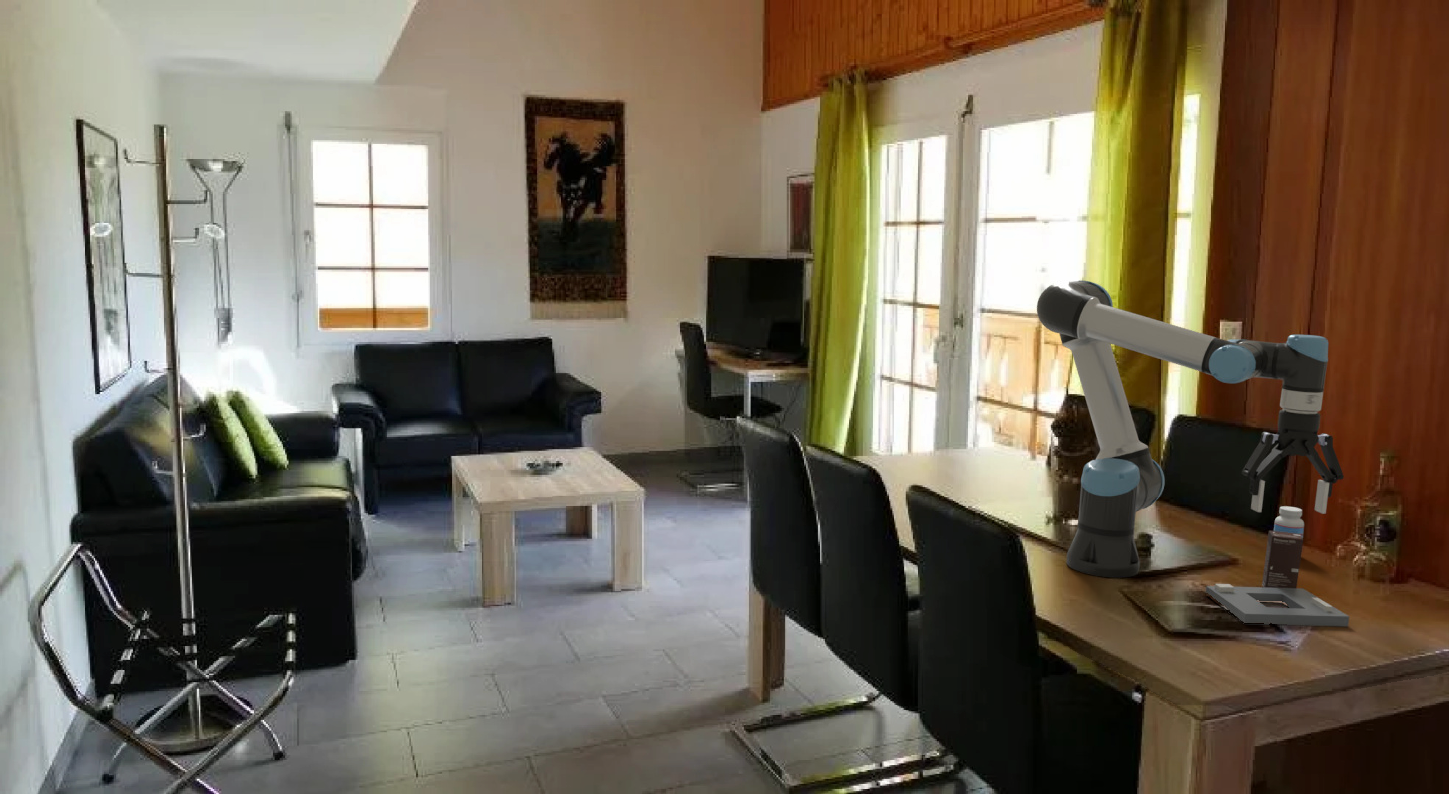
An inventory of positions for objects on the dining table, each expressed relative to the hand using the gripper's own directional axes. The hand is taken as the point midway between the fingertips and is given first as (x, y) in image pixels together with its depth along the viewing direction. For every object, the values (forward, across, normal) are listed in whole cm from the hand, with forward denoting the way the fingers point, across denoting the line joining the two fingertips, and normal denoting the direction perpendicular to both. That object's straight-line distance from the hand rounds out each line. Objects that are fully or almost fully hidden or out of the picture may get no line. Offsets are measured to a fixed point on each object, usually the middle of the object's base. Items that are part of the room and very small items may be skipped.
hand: (1288, 511), depth 221 cm
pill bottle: (+17, +15, +24) cm, 33 cm away
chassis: (+17, -9, -14) cm, 23 cm away
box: (+17, 0, -1) cm, 17 cm away
